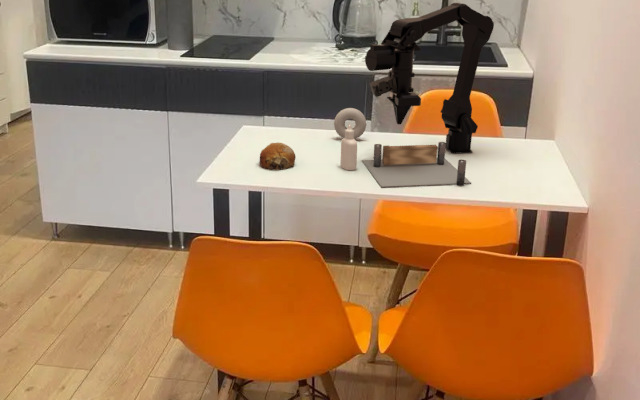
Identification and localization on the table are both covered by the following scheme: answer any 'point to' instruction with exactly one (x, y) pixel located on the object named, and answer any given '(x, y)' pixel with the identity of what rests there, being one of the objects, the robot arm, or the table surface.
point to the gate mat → (413, 174)
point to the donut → (350, 114)
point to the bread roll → (277, 156)
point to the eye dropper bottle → (349, 150)
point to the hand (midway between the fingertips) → (398, 124)
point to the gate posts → (439, 161)
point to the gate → (409, 154)
